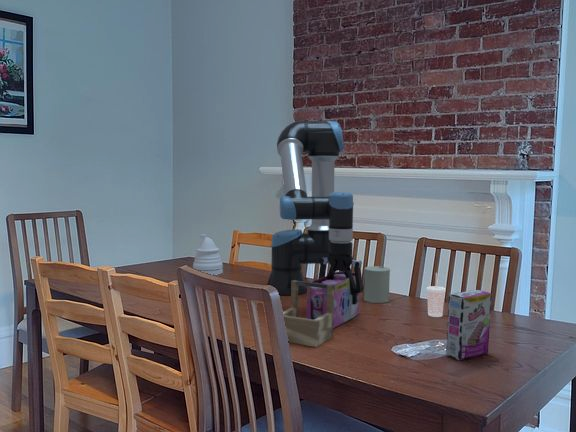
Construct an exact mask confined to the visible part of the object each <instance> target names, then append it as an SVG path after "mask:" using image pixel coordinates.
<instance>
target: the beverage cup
mask: <svg viewBox="0 0 576 432" xmlns="http://www.w3.org/2000/svg"><path fill="white" fill-rule="evenodd" d="M445 293H446V288H445V287H443V286H438V272H435V285H434V286H433V285H431V286H427V287H426V294H427V314H428V315H427V316H429V317H432V318H441V317H443V313H444V302H445Z"/></svg>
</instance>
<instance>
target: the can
mask: <svg viewBox="0 0 576 432" xmlns="http://www.w3.org/2000/svg"><path fill="white" fill-rule="evenodd" d="M363 270H364V283H363V292H364V293H363V300H364V302H367V303H371V304H385V303H388V302H390V277H391V276H390V275H391V274H390V272H391V269H390V267H386V266H378V265H377V266H375V265H372V266H371V265H370V266H366V267H364V269H363Z"/></svg>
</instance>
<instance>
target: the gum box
mask: <svg viewBox="0 0 576 432" xmlns="http://www.w3.org/2000/svg"><path fill="white" fill-rule="evenodd" d="M351 273H352V276H353V278H354V281H355V284H356V280H355V273H354V272H351ZM311 282H313V283H321V284H331V285H334V327H333V329H335V328H336V327H338V326H340V325H342V324H344V323H346V322H348V321H349V320H352V319H354V318H355V317H356V316H359V312H360V311H359V307H360V305H359V303H360V301H359V300H360V299H359V298H360V297H359V296H360V295H359V294H360V293H358V295H357V304H355V313H354V314H352V315H349V297H350V294H351V290H350V280H349V278H347V279H346V276H345V274H344V273H343V271H336V272H335V274H334V276H333V278H332V279H331V280H328V276H327V275H325V277H323V278H320V279H318V278H317V279H315V280H312V281H311ZM305 306H306V310H305V318H306V319H313V320H314V319H316V318H318V317H320V316H322V315H324V314H326V313H327V289H326V288H318V287H309V286H306V304H305Z"/></svg>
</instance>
